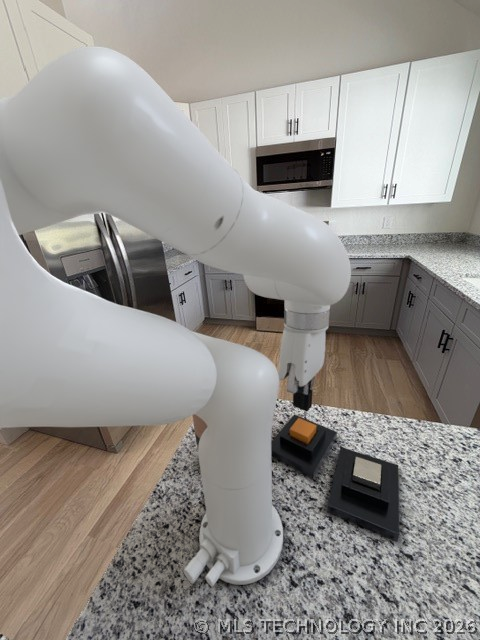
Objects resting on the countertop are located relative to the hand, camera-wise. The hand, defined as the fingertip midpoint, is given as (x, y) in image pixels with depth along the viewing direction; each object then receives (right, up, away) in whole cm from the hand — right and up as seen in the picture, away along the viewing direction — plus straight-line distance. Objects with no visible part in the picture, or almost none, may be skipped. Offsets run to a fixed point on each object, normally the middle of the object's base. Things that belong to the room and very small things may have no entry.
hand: (302, 406), depth 53 cm
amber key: (+1, -7, +3) cm, 7 cm away
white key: (+9, -10, -7) cm, 15 cm away
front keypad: (+9, -13, -6) cm, 17 cm away
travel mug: (-16, -12, +2) cm, 20 cm away
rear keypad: (+1, -9, +4) cm, 10 cm away
